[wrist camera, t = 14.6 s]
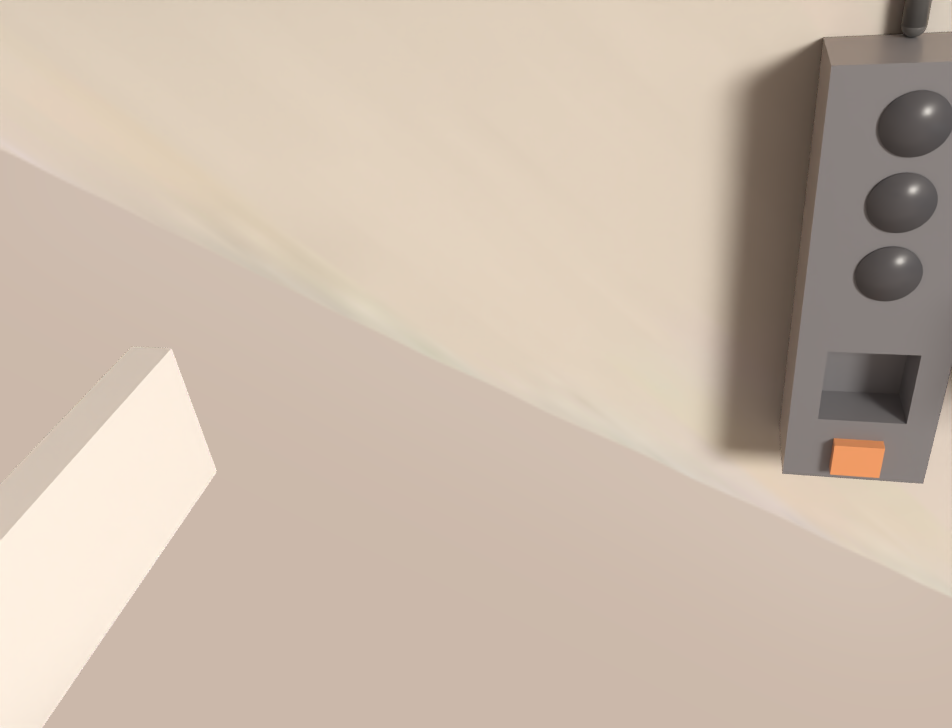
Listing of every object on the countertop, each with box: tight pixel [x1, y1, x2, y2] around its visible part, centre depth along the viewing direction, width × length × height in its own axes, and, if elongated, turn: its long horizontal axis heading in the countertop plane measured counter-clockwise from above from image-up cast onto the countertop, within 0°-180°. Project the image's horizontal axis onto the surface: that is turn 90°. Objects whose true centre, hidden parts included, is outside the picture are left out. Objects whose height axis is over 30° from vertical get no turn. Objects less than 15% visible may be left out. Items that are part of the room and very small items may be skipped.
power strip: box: [779, 0, 952, 484], centre depth 40 cm, size 29×7×5 cm, turn 6°
